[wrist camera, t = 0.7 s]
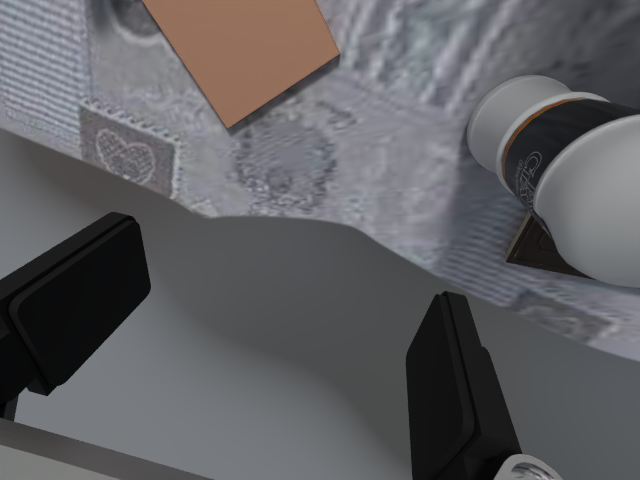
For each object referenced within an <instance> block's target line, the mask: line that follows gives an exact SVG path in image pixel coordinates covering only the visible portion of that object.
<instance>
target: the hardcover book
mask: <svg viewBox="0 0 640 480" xmlns="http://www.w3.org/2000/svg"><path fill="white" fill-rule="evenodd" d="M506 254H507V255H508V258H507V260H506V262H507V263H512V264H518V265H523V266H528V267H533V268H538V269H543V270H548V271H553V272H559V273H564V274H569V275H574V276H579V277H584V278H589V279H594V278H591V277H589V276H587V275H585V274H584V273H582V272H580V271H578V270H577V269H575V268H574V267H572V266H571V265H569V264H568V263H567V262H566V261H565V260H564V259H563V257H562V256H561V255H560V254H559V253H558V250H557V248H556V245H555V242H554V241H553V240H552V239H551V237H550V236H549V235H548V234H547V233H546V231H545V230H544V229H543V228H542V227H541V225H540V224H539V223H538V222H537V221H536V220H535V218H534V217H533V216H532V215H531V214H530V212H529V211H528V213H527V214H526V216H525V218H524V220H523V222H522V224H521V226H520V227H519V229H518V231H517V233H516V235H515V237H514V238H513V240H512V242H511V244H510V246H509V248H508V250H507V251H506ZM595 280H596V279H595Z"/></svg>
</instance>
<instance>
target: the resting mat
mask: <svg viewBox="0 0 640 480" xmlns="http://www.w3.org/2000/svg"><path fill="white" fill-rule="evenodd" d="M142 1H143V3H144V4H145V6H146V7H147V9H148V10H149V12H150V13H151V15H152V16H153V18H154V19H155V21H156V22H157V24H158V25H159V27H160V28H161V30H162V31H163V33H164V34H165V36H166V37H167V39H168V40H169V42H170V43H171V45H172V46H173V48H174V49H175V51H176V52H177V54H178V55H179V57H180V58H181V60H182V61H183V63H184V64H185V66H186V67H187V69H188V70H189V72H190V73H191V75H192V76H193V78H194V79H195V81H196V82H197V84H198V85H199V87H200V88H201V90H202V91H203V93H204V94H205V96H206V97H207V99H208V100H209V102H210V103H211V105H212V106H213V108H214V109H215V111H216V112H217V114H218V115H219V117H220V118H221V120H222V121H223V123H224V124H225V126H226V127H227V128H229V127H231V126H233V125H234V124H236V123H237V122H239V121H240V120H242V119H243V118H245V117H246V116H248V115H249V114H251V113H252V112H254V111H255V110H257V109H258V108H260V107H261V106H263V105H264V104H266V103H267V102H269V101H270V100H272V99H273V98H275V97H276V96H278V95H279V94H281V93H282V92H284V91H285V90H287V89H288V88H290V87H291V86H293V85H294V84H296V83H297V82H299V81H300V80H302V79H303V78H305V77H306V76H308V75H309V74H311V73H312V72H314V71H315V70H317V69H318V68H320V67H321V66H323V65H324V64H326V63H327V62H329V61H330V60H332V59H333V58H335V57H336V56H338V55H339V54H340V52H339V50H338V48H337V46H336V43H335V41H334V39H333V37H332V35H331V33H330V31H329V29H328V26H327V24H326V22H325V20H324V18H323V16H322V14H321V11H320V9H319V7H318V5H317V3H316V1H315V0H142Z"/></svg>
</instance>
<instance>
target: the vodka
mask: <svg viewBox="0 0 640 480" xmlns="http://www.w3.org/2000/svg"><path fill="white" fill-rule="evenodd" d="M467 143H468V147H469V150H470V152H471V154H472V156H473V157H474V158H475V159H476V161H477V162H478V163H479V164H480V165H481V166H483V167H484V168H485V169H487V170H489V171H491V172H493V173H495V174H496V175H497V176H498V178H499V180H500V182H501V184H502V185H503V187H504V188H505V189H506V190H507V191H508V192H510V193H511V194H513V195H514V196H516V197H517V198H518V199H519V201H520V202H521V203H522V204H523V205H524V207H525V208H526V209H527V210H528V211H529V212H530V214H531V215H532V216H533V217H534V218H535V220H536V221H537V222H538V223H539V224H540V225H541V227H542V228H543V229H544V230H545V231H546V233H547V234H548V235H549V236H550V237H551V239H552V240H553V241H554V242H555V245H556V248H557V250H558V253H559V254H560V255H561V256H562V257H563V259H564V260H565V261H566V262H567V263H568V264H569V265H571V266H572V267H574V268H575V269H577V270H578V271H580V272H582V273H584V274H585V275H587V276H589V277H591V278H594V279H596V280H599V281H602V282H605V283H607V284H612V285H618V286H624V287H633V288H640V110H637V109H633V108H629V107H625V106H622V105H618V104H614V103H611V102H610V101H608V100H607V99H605V98H603V97H601V96H599V95H596V94H592V93H587V92H572V91H571V90H570V89H569V88H568V87H567V86H566V85H564V84H563V83H561V82H559V81H557V80H555V79H552V78H549V77H546V76H541V75H524V76H519V77H515V78H512V79H510V80H507V81H505V82H503V83H501V84H499V85H498V86H496V87H495V88H493V89H492V90H491V91H490V92H489V93H487V94H486V95H485V96H484V97H483V98H482V100H481V101H480V102H479V103H478V105H477V106H476V108H475V109H474V111H473V113H472V115H471V117H470V120H469V123H468V127H467Z"/></svg>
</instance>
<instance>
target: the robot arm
mask: <svg viewBox="0 0 640 480" xmlns="http://www.w3.org/2000/svg"><path fill="white" fill-rule="evenodd" d="M150 289H151V284H150V278H149V273H148V267H147V263H146V257H145V251H144V246H143V241H142V235H141V230H140V226H139V224H138V223H137V222H136V220H135V219H134V218H133V217H132V216H129V215H125V214H121V213H117V212H111V213H108V214H107V215H105V216H104V217H102V218H100V219H99V220H97V221H96V222H94V223H92V224H91V225H89V226H87V227H86V228H84V229H82V230H81V231H79V232H78V233H76V234H74V235H73V236H71V237H69V238H68V239H66V240H64V241H63V242H61V243H60V244H58V245H56V246H55V247H53V248H51V249H50V250H48V251H47V252H45V253H43V254H42V255H40V256H38V257H37V258H35V259H34V260H32V261H30V262H29V263H27V264H25V265H24V266H22V267H20V268H19V269H17V270H16V271H14V272H13V273H11V274H9V275H8V276H6V277H4V278H3V279H1V280H0V480H214V479H210V478H206V477H203V476H200V475H196V474H193V473H190V472H186V471H183V470H179V469H176V468H172V467H169V466H165V465H162V464H158V463H155V462H152V461H148V460H145V459H142V458H138V457H135V456H131V455H128V454H124V453H121V452H117V451H114V450H110V449H107V448H104V447H100V446H97V445H93V444H90V443H86V442H83V441H79V440H76V439H72V438H69V437H65V436H62V435H58V434H55V433H51V432H48V431H44V430H41V429H37V428H34V427H30V426H27V425H23V424H20V423H16V422H14V419H15V413H16V407H17V402H18V396H19V393H21V392H22V391H23V390H24V388H26V387H27V389H28V390H29V391H31V392H34V393H38V394H41V395H45V396H48V395H49V394H50V393H51V392H52V391H53V390H54V389H55V388H56V387H57V386H59V385H62V384H64V383H65V382H66V381H67V380H68V379H69V378H70V377H71V376H72V375H73V374H74V373H75V372H76V371H77V370H78V369H79V368H80V367H81V365H82V364H83V363H84V362H85V361H86V360H87V359H88V358H89V357H90V356H91V355H92V354H93V353H94V352H95V351H96V350H97V349H98V348H99V347H100V346H101V345H102V343H103V342H104V341H105V340H106V339H107V338H108V337H109V336H110V335H111V334H112V333H113V332H114V331H115V330H116V329H117V328H118V326H119V325H120V324H121V323H122V322H123V321H124V320H125V319H126V318H127V317H128V316H129V315H130V314H131V313H132V312H133V311H134V310H135V309H136V307H137V306H138V305H139V304H140V303H141V302H142V301H143V300H144V299H145V298H146V297H147V296H148V294H149V292H150ZM406 375H407V392H408V410H409V427H410V442H411V443H410V444H411V461H412V477H413V480H563V479H562V478H561V477H560V476H559V475H558V474H557V473H556V472H555V471H554V470H553V469H551V468H550V467H549V466H547V465H546V464H545V463H543V462H542V461H540V460H538V459H536V458H534V457H532V456H528V455H523V454H522V451H521V448H520V446H519V442H518V439H517V436H516V433H515V430H514V427H513V424H512V421H511V418H510V415H509V412H508V409H507V406H506V403H505V400H504V396H503V393H502V390H501V388H500V384H499V381H498V378H497V375H496V372H495V369H494V366H493V363H492V360H491V357H490V354H489V352H488V350H487V349H486V348H485V347H482V346H481V343H480V340H479V336H478V333H477V330H476V327H475V323H474V320H473V317H472V314H471V311H470V308H469V304H468V301H467V298H466V297H465V296H464V295H460V294H456V293H452V292H447V291H444V292H443V293H442V294H441V295H438V294H436V295H435V297H434V299H433V301H432V303H431V305H430V307H429V309H428V311H427V313H426V315H425V317H424V319H423V321H422V323H421V325H420V327H419V329H418V331H417V333H416V335H415V337H414V339H413V341H412V343H411V345H410V347H409V349H408V352H407V356H406Z"/></svg>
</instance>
